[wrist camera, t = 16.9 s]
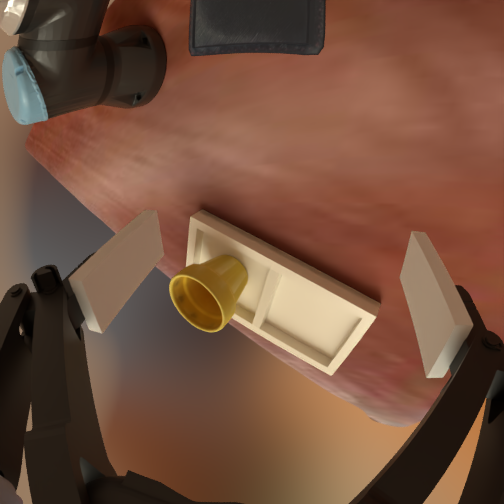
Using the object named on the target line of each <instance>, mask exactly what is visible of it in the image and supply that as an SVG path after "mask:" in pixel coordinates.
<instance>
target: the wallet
mask: <svg viewBox="0 0 504 504" xmlns="http://www.w3.org/2000/svg"><path fill="white" fill-rule="evenodd" d="M324 39H325V0H191V5H190V25H189V51H190V54H191V56H204V55H216V54H230V53H286V54H299V55H318V54H319V53H320V51H321V50H322V49H323V47H324Z"/></svg>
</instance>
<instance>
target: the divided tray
mask: <svg viewBox="0 0 504 504" xmlns="http://www.w3.org/2000/svg"><path fill="white" fill-rule="evenodd" d="M220 255H230V256H232V257H234V258H236V259H237V260H239V261H240V262H241V263H242V265H243V266H244V267H245V269H246V271H247V274H248V282H247V284H246V286H245V288H244V290H243V292H242V294H241V295H240V297H239V299H238V301H237V303H236V310H235V313H234V315H233V316H232V318H233V319H234V320H236V321H238V322H239V323H241V324H242V325H244V326H246V327H247V328H249V329H251V330H252V331H254V332H256V333H257V334H259V335H261V336H262V337H264V338H266V339H267V340H269V341H271V342H272V343H274V344H276V345H277V346H279V347H281V348H283V349H284V350H286V351H288V352H290V353H291V354H293V355H295V356H297V357H298V358H300V359H302V360H304V361H305V362H307V363H309V364H311V365H313V366H314V367H316V368H318V369H320V370H322V371H323V372H325V373H327V374H329V375H331V376H332V374H333V373H334V372H335V371H336V370H337V368H338V367H339V366H340V365H341V363H342V362H343V361H344V360H345V358H346V357H347V356H348V355H349V353H350V352H351V351H352V349H353V348H354V347H355V346H356V344H357V343H358V342H359V340H360V339H361V338H362V336H363V335H364V334H365V332H366V331H367V329H368V328H369V327H370V325H371V324H372V323H373V321H374V320H375V318H376V317H377V314H378V311H379V308H380V305H381V304H380V303H379V302H377V301H375V300H373V299H371V298H369V297H368V296H366V295H364V294H362V293H360V292H358V291H357V290H355V289H353V288H351V287H349V286H347V285H345V284H344V283H342V282H340V281H338V280H336V279H334V278H332V277H331V276H329V275H327V274H325V273H323V272H321V271H319V270H317V269H316V268H314V267H312V266H310V265H308V264H306V263H304V262H302V261H301V260H299V259H297V258H295V257H293V256H291V255H289V254H287V253H285V252H284V251H282V250H280V249H278V248H276V247H274V246H272V245H270V244H268V243H266V242H265V241H263V240H261V239H259V238H257V237H255V236H253V235H251V234H249V233H247V232H245V231H243V230H242V229H240V228H238V227H236V226H234V225H232V224H230V223H228V222H226V221H224V220H222V219H220V218H218V217H217V216H215V215H213V214H211V213H209V212H207V211H205V210H203V209H202V210H200V211H199V212H197V213H195V214H193V215H192V216H190V226H189V237H188V249H187V261H186V267H187V266H189V265H191V264H201V263H204V262H206V261H208V260H210V259H213V258H215V257H217V256H220Z"/></svg>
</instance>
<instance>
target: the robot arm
mask: <svg viewBox="0 0 504 504" xmlns="http://www.w3.org/2000/svg"><path fill="white" fill-rule="evenodd" d="M109 1H110V0H0V28H1V29H2V30H3V31H5V32H6V33H7V34H8V35H9V36H10V35H16V34H19V40H18V45H17V47H12V48H11V49H9V50H7V52H6V53H5V55H4V60H3V66H2V76H3V86H4V92H5V97H6V101H7V104H8V107H9V110H10V112H11V114H12V116H13V118H14V119H15V120H16V121H17V122H18V123H20V124H24V125H27V124H31V123H35V122H40V121H46V120H47V119H50V118H53V117H56V116H59V115H63V114H66V113H69V112H73V111H77V110H80V109H84V108H88V107H92V106H96V105H106V106H113V107H119V108H135V107H140V106H143V105H145V104H147V103H149V102H150V101H151V100H152V99H153V98H154V97H155V96H156V94H157V93H158V91H159V89H160V87H161V85H162V82H163V79H164V75H165V70H166V53H165V47H164V44H163V41H162V39H161V37H160V36H159V34H158V33H157V32H156V31H155V30H154V29H152V28H151V27H148V26H144V25H130V26H126V27H123V28H120V29H118V30H115V31H112V32H109V33H107V34H104V35H102V36H99V32H100V29H101V26H102V22H103V19H104V16H105V13H106V10H107V7H108V4H109ZM163 255H164V251H163V246H162V240H161V234H160V228H159V222H158V215H157V210H144V211H143V212H142V213H140V214H139V215H138V216H137V217H136V218H134V219H133V220H132V221H131V222H130V223H129V224H127V225H126V226H125V227H124V228H123V229H122V230H120V231H119V232H118V233H117V234H116V235H115V236H114V237H112V239H110V240H109V241H108V242H107V243H106V244H105V245H104V246H103V247H101V248H100V249H99V250H98V251H97V252H95V253H93V254H91V255H89V256H88V257H87V258H86V259H85V260H84V261H83V263H81V264H80V265H79V266H78V268H75V269H74V270H73V271H72V272H71V273H70V274H69V275H68V276H67V277H66V278H65V279H64V280H63V281H62V280H61V277H60V274H59V272H58V269H57V267H56V266H55V265H46V266H43V267H41V268H39V269H37V270H36V271H35V272H34V273H33V274H32V276H31V279H32V281H33V283H34V286H35V288H36V291H37V292H33V293H32V292H31V293H30V291H29V289H28V286H27V285H26V284H24V283H23V284H22V283H20V284H16V285H15V286H12V287H11V288H10V289H9V290H8V291H7V293H6V294H5V296H4V298H3V300H2V302H1V303H0V504H23V501H22V499H21V498H20V497H19V496H18V495H16V490H17V486H18V482H19V478H20V473H21V465H22V457H23V448H24V449H25V459H26V467H27V474H28V481H29V487H30V493H31V498H32V503H33V504H242V503H236V502H226V503H225V502H223V503H220V502H219V503H218V502H195V501H192V500H190V499H188V498H186V497H184V496H183V495H181V494H179V493H177V492H175V491H174V490H172V489H171V488H169V487H167V486H166V485H164V484H162V483H161V482H158V481H155V480H153V479H150V478H147V477H144V476H142V475H139V474H136V473H134V472H131V471H129V470H128V472H127V474H126V476H117V474H116V472H115V470H114V468H113V467H112V465H111V463H110V462H109V460H108V457H107V454H106V450H105V447H104V443H103V439H102V435H101V432H100V427H99V423H98V418H97V414H96V409H95V405H94V400H93V394H92V389H91V383H90V377H89V371H88V365H87V358H86V351H85V343H84V333H83V329H82V327H81V324H82V323H83V321H84V320H85V321H86V323H87V325H88V328H89V330H92V331H95V332H99V333H103V332H104V331H105V329H106V328H107V327H108V325H109V324H110V323H111V321H112V320H113V318H114V317H115V316H116V315H117V313H118V312H119V311H120V309H121V308H122V307H123V305H124V304H125V303H126V302H127V300H128V299H129V298H130V296H131V295H132V294H133V293H134V291H135V290H136V289H137V287H138V286H139V285H140V284H141V282H142V281H143V280H144V279H145V277H146V276H147V275H148V274H149V272H150V271H151V270H152V269H153V267H154V266H155V265H156V264H157V263H158V261H159V260H160V259H161V258H162V256H163ZM400 280H401V283H402V286H403V290H404V293H405V296H406V299H407V303H408V306H409V310H410V313H411V317H412V320H413V324H414V328H415V332H416V335H417V339H418V343H419V347H420V352H421V356H422V360H423V365H424V369H425V374H426V378H441V377H444V375H445V374H446V372H447V370H448V369H449V367H450V371H451V375H452V376H451V377H450V379H449V380H448V382H447V383H446V385H445V386H444V388H443V389H442V390H441V392H440V395H439V396H438V398H437V399H436V401H435V402H434V404H433V405H432V407H431V408H430V410H429V411H428V412H427V414H426V415H425V417H424V418H423V419H422V421H421V422H420V424H419V425H418V426H417V428H416V429H415V430H414V432H413V433H412V434H411V436H410V437H409V438H408V440H407V441H406V442H405V443H404V445H403V446H402V447H401V448H400V449H399V451H398V452H397V453H396V454H395V455H394V456H393V458H392V459H391V460H390V461H389V462H388V463H387V465H386V466H385V467H384V468H383V469H382V470H381V471H380V472H379V474H378V475H377V476H376V477H375V478H374V479H373V480H372V481H371V482H370V483H369V484H368V485H367V486H366V487H365V488H364V489H363V490H362V491H361V492H360V493H359V494H358V495H357V496H356V497H355V498H354V499H353V500H352V501H351V502H350V503H349V504H423V503H424V501H425V500H426V499H427V497H428V496H429V495H430V493H431V492H432V490H433V489H434V488H435V486H436V485H437V483H438V482H439V480H440V479H441V477H442V476H443V474H444V473H445V471H446V470H447V468H448V467H449V465H450V463H451V462H452V460H453V459H454V457H455V456H456V454H457V452H458V450H459V449H460V447H461V445H462V444H463V442H464V440H465V438H466V436H467V435H468V433H469V431H470V429H471V427H472V425H473V423H474V421H475V419H476V417H477V415H478V413H479V411H480V409H481V407H482V405H483V403H484V400H485V398H487V399H486V405H485V411H484V417H483V421H482V426H481V430H480V435H479V439H478V443H477V447H476V451H475V454H474V458H473V461H472V465H471V468H470V471H469V474H468V478H467V481H466V483H465V486H464V489H463V492H462V495H461V498H460V500H459V503H458V504H504V344H503V341H502V340H501V339H500V337H499V336H498V335H496V334H495V333H493V332H491V331H488V330H487V329H486V327H485V325H484V323H483V321H482V319H481V316H480V314H479V312H478V310H476V306H475V304H474V303H473V300H472V298H471V296H470V295H469V293H468V292H467V291H466V290H465V289H464V288H463V287H462V286H459V285H454V283H453V281H452V279H451V277H450V275H449V273H448V272H447V270H446V268H445V266H444V264H443V262H442V260H441V259H440V257H439V255H438V253H437V252H436V250H435V248H434V246H433V245H432V243H431V241H430V240H429V238H428V236H427V235H426V233H425V232H417V231H412V232H411V236H410V240H409V244H408V248H407V252H406V256H405V260H404V264H403V267H402V271H401V274H400ZM19 326H20V327H21V329H22V330H23V332H22V334H21V335H20V332H19ZM30 404H31V405H32V423H33V424H32V425H33V426H32V427H33V428H32V430H31V431H27V432H26V426H27V420H28V415H29V409H30Z"/></svg>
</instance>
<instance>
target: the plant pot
mask: <svg viewBox="0 0 504 504" xmlns="http://www.w3.org/2000/svg"><path fill="white" fill-rule="evenodd" d="M247 282H248V274H247V271H246V269H245V267H244V266H243V265H242V263H241V262H240V261H239V260H237V259H236V258H234V257H232V256H230V255H220V256H217V257H215V258H213V259H210V260H208V261H206V262H204V263H201V264H191V265H189V266H187V267H186V268H184V269H183V270H181V271H180V272H178V273H177V274H176V275H175V276H174V277H173V278H172V279H171V281H170V286H169V289H170V295H171V298H172V301H173V303H174V305H175V306H176V308H177V310H178V311H179V312H180V314H181V315H182V316H183V317H184V318H185V319H186V320H187V321H188V322H189V323H191V324H192V325H193V326H195V327H197V328H198V329H200V330H203V331H206V332H217V331H219V330H221V329H222V328H223V327H224V326H225V325H226V324H227V323H228V321H229V320H230V319H231V318H232V316H233V315H234V313H235V310H236V303H237V301H238V299H239V297H240V295H241V294H242V292H243V290H244V288H245V286H246V284H247Z"/></svg>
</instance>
